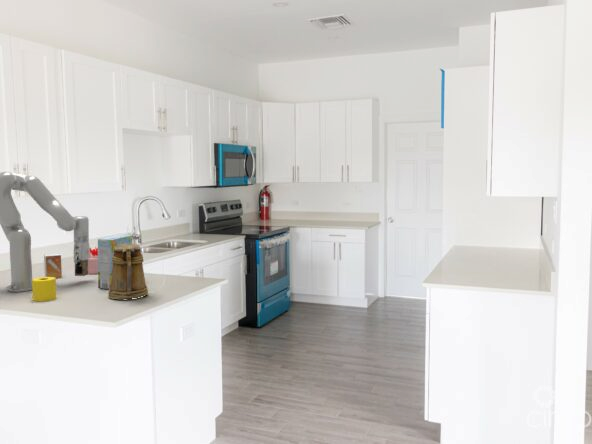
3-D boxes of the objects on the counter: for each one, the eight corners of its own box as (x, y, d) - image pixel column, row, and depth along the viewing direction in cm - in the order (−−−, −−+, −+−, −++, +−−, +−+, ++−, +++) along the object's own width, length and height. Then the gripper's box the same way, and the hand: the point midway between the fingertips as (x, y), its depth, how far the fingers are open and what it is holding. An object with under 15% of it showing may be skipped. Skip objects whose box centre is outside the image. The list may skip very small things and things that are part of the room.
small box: (46, 279, 295) (45, 256, 294) (44, 277, 300) (43, 254, 299) (62, 277, 299) (61, 254, 298) (60, 275, 305) (59, 253, 303)
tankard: (144, 290, 267) (142, 241, 265) (152, 300, 246) (151, 247, 243) (106, 293, 259) (104, 243, 257) (111, 304, 238) (109, 250, 236)
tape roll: (33, 297, 253) (32, 277, 252) (56, 295, 257) (55, 276, 256) (32, 302, 244) (31, 281, 243) (56, 299, 248) (55, 280, 247)
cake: (75, 270, 320) (74, 247, 318) (108, 267, 332) (108, 244, 330) (85, 276, 304) (83, 251, 303) (119, 271, 316) (118, 248, 315)
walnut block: (83, 276, 284) (83, 261, 283) (74, 275, 284) (74, 260, 283) (88, 274, 289) (88, 259, 288) (79, 274, 289) (79, 259, 288)
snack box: (113, 289, 268) (111, 239, 266) (97, 289, 270) (95, 239, 267) (134, 281, 289) (132, 234, 287) (119, 280, 291) (118, 234, 289)
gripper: (80, 241, 276) (80, 275, 277) (95, 237, 293) (95, 270, 294) (66, 240, 276) (66, 275, 278) (82, 237, 293) (82, 269, 295)
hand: (81, 272), depth 286 cm, fingers closed on walnut block, 5 cm apart
